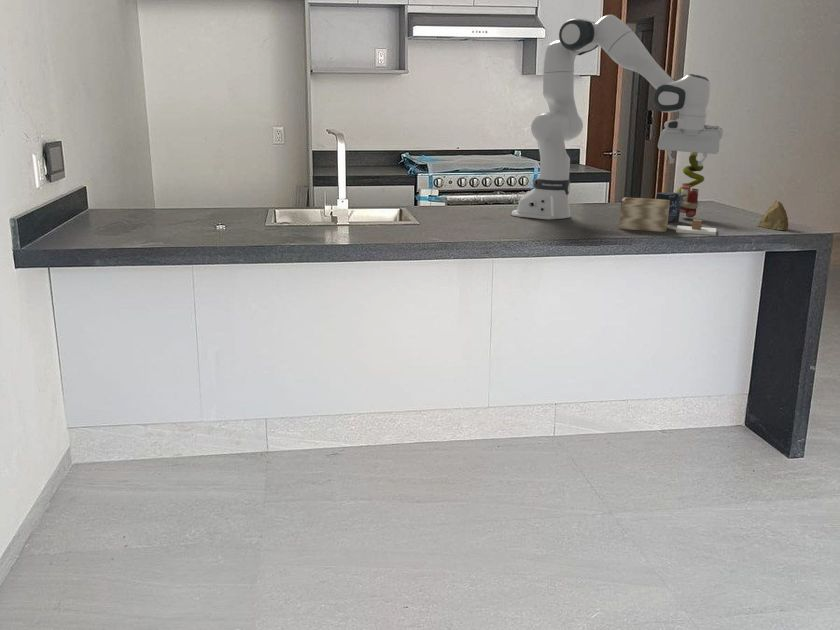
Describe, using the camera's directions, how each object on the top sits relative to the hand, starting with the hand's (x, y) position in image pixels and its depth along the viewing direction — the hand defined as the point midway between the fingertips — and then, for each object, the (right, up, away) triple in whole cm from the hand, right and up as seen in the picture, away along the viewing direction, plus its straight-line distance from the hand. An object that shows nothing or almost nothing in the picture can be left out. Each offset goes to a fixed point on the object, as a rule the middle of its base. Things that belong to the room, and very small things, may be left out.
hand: (685, 165), depth 276 cm
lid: (+4, -23, +2) cm, 24 cm away
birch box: (-12, -21, +8) cm, 26 cm away
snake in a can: (+10, -15, +29) cm, 35 cm away
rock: (+35, -21, +11) cm, 42 cm away
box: (+1, -17, +23) cm, 29 cm away
